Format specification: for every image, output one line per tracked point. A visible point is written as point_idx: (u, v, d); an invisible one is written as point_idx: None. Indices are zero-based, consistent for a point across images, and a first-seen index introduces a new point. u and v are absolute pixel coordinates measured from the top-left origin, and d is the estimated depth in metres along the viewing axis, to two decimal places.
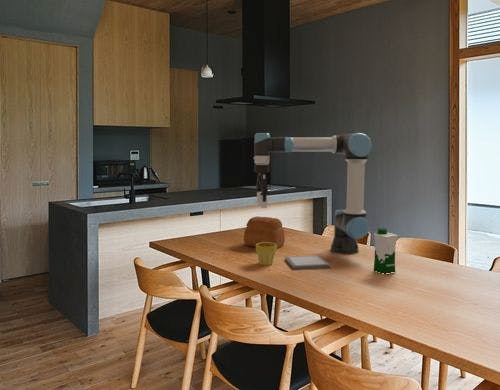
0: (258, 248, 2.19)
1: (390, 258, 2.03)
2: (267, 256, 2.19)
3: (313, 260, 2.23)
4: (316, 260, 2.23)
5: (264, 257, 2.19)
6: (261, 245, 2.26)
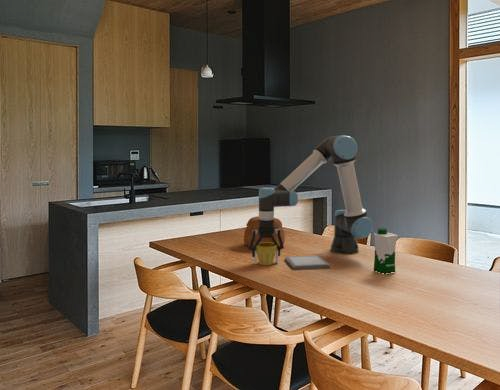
0: (258, 248, 2.19)
1: (390, 258, 2.03)
2: (267, 256, 2.19)
3: (313, 260, 2.23)
4: (316, 260, 2.23)
5: (264, 257, 2.19)
6: (261, 245, 2.26)
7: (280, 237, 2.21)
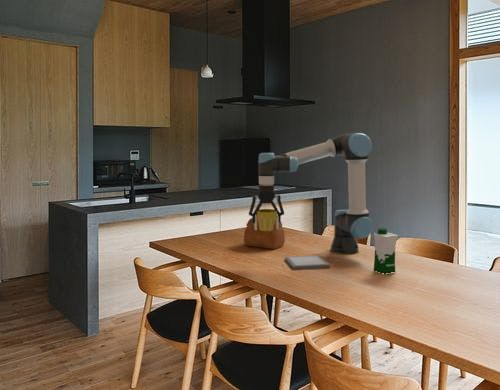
0: (258, 214, 2.17)
1: (390, 258, 2.03)
2: (267, 222, 2.17)
3: (313, 260, 2.23)
4: (316, 260, 2.23)
5: (264, 223, 2.17)
6: (261, 212, 2.24)
7: (280, 203, 2.19)
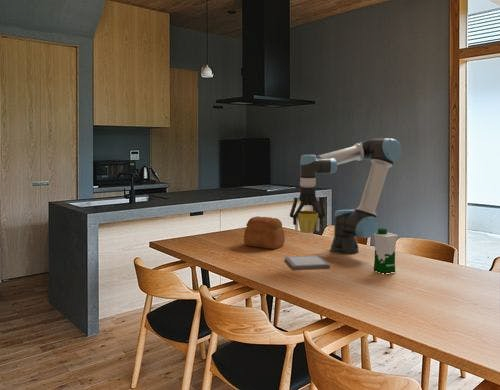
0: (300, 215, 2.17)
1: (390, 258, 2.03)
2: (309, 223, 2.17)
3: (313, 260, 2.23)
4: (316, 260, 2.23)
5: (306, 224, 2.17)
6: (302, 213, 2.24)
7: (321, 205, 2.19)
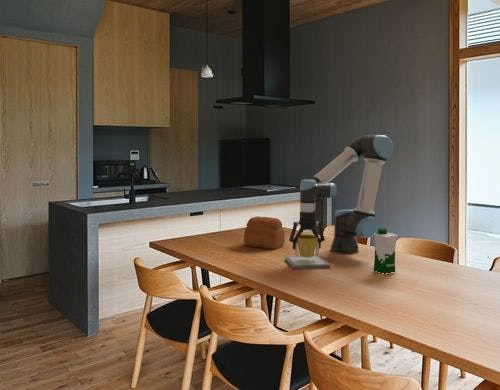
0: (299, 240, 2.18)
1: (390, 258, 2.03)
2: (308, 248, 2.18)
3: (313, 260, 2.23)
4: (316, 260, 2.23)
5: (305, 249, 2.18)
6: (301, 237, 2.25)
7: (321, 229, 2.21)
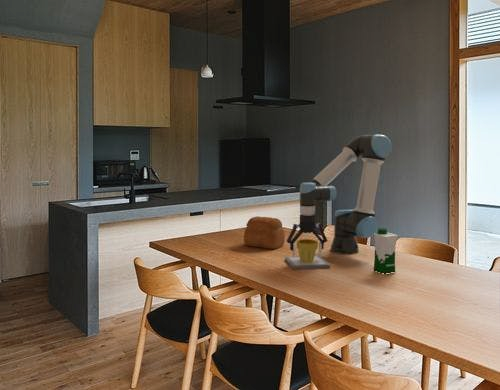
0: (300, 245, 2.19)
1: (390, 258, 2.03)
2: (308, 253, 2.18)
3: (313, 260, 2.23)
4: (316, 260, 2.23)
5: (306, 254, 2.19)
6: (301, 242, 2.26)
7: (322, 231, 2.21)
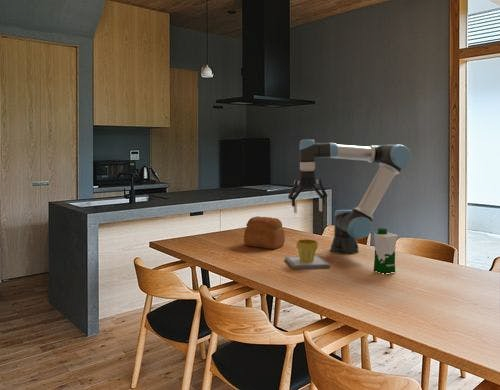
0: (300, 245, 2.19)
1: (390, 258, 2.03)
2: (308, 253, 2.18)
3: (313, 260, 2.23)
4: (316, 260, 2.23)
5: (306, 254, 2.19)
6: (301, 242, 2.26)
7: (322, 186, 2.27)
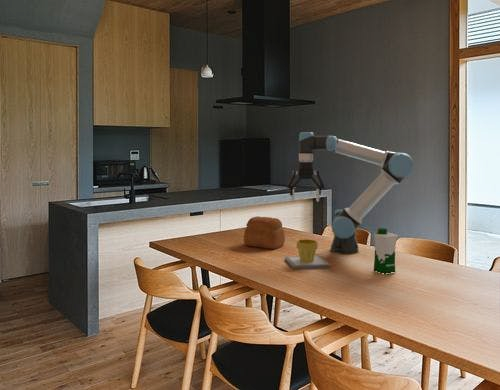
0: (300, 245, 2.19)
1: (390, 258, 2.03)
2: (308, 253, 2.18)
3: (313, 260, 2.23)
4: (316, 260, 2.23)
5: (306, 254, 2.19)
6: (301, 242, 2.26)
7: (319, 177, 2.37)
